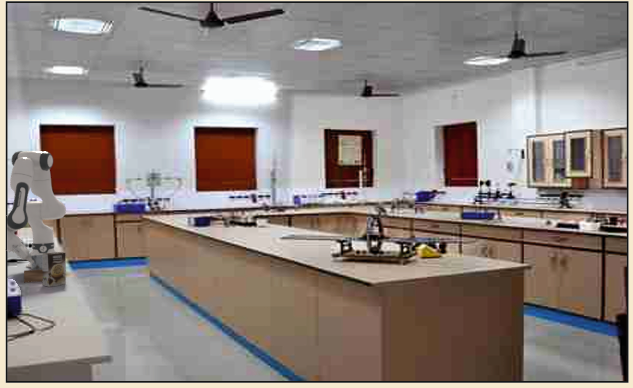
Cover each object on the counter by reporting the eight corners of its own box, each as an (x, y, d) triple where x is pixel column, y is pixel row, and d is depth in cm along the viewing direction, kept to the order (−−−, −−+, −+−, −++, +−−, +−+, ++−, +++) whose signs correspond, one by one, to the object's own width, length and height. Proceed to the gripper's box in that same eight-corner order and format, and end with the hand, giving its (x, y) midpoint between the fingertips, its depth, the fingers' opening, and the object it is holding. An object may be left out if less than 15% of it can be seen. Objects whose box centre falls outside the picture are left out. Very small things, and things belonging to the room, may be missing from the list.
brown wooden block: (24, 279, 317) (24, 267, 317) (53, 277, 323) (53, 266, 323) (24, 282, 307) (23, 270, 307) (54, 280, 313) (53, 269, 313)
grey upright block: (31, 275, 330) (31, 255, 330) (43, 274, 332) (42, 254, 332) (31, 276, 325) (31, 256, 325) (43, 275, 327) (42, 255, 327)
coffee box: (49, 287, 296) (48, 254, 295) (42, 285, 299) (41, 253, 299) (66, 284, 303) (66, 252, 302) (59, 282, 307) (59, 251, 306)
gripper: (17, 241, 315) (37, 259, 319) (18, 238, 333) (38, 255, 338) (7, 250, 313) (28, 268, 317) (9, 246, 332) (29, 263, 336)
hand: (33, 261), depth 328 cm, fingers open, 8 cm apart
